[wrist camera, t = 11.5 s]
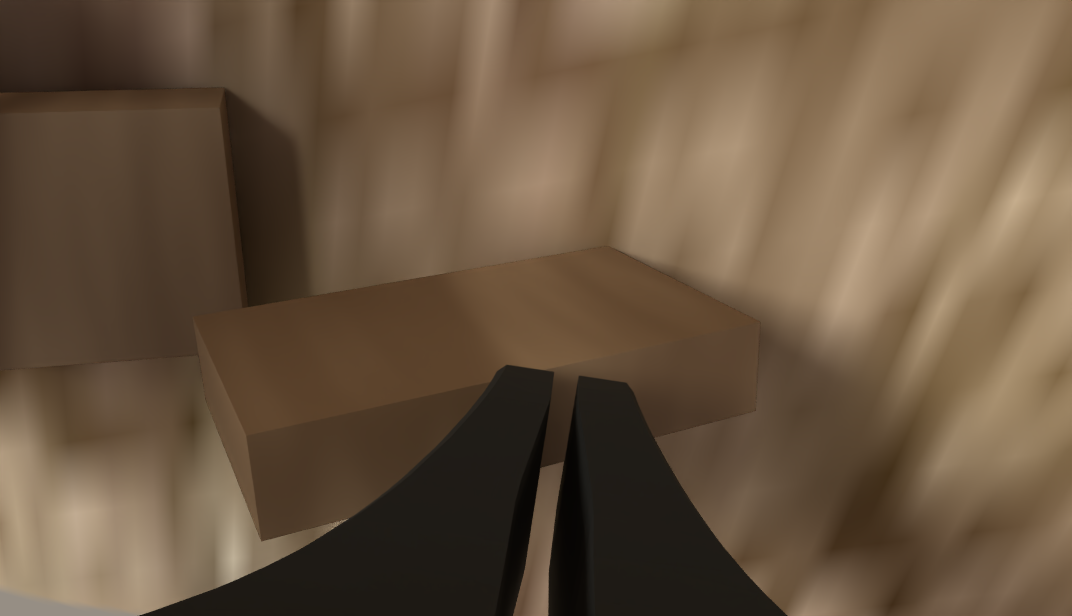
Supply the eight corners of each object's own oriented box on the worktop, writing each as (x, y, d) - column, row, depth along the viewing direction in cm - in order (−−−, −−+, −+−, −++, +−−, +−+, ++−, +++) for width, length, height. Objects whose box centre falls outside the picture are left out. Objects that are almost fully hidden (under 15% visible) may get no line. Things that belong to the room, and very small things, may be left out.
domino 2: (755, 411, 15) (261, 541, 12) (607, 318, 18) (205, 400, 15) (759, 322, 14) (246, 435, 11) (607, 245, 18) (192, 316, 15)
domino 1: (249, 317, 19) (-175, 347, 17) (224, 87, 17) (-254, 98, 16) (247, 351, 18) (-210, 386, 16) (219, 107, 16) (-301, 121, 14)
